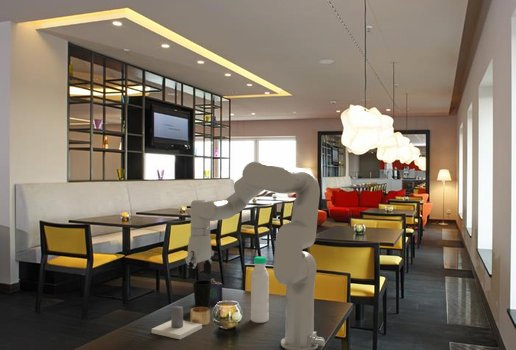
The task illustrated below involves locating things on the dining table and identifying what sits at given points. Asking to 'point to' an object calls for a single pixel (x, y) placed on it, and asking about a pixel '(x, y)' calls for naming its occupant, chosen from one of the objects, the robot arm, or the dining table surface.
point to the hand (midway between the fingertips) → (200, 276)
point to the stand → (177, 325)
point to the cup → (202, 293)
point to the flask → (215, 292)
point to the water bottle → (259, 291)
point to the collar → (200, 315)
